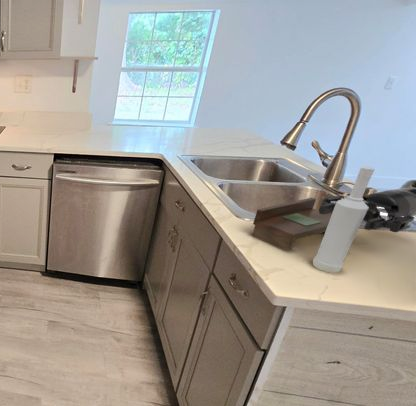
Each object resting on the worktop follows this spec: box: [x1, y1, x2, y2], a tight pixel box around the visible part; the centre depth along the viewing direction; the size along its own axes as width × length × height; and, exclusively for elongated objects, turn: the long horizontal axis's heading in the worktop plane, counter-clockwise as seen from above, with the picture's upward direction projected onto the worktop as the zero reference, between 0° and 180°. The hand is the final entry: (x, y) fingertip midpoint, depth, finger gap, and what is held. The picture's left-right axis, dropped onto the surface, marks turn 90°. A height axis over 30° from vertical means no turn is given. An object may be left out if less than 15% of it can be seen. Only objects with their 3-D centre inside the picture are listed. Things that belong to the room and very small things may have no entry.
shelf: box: [251, 197, 332, 251], centre depth 100 cm, size 10×22×8 cm, turn 109°
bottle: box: [312, 166, 375, 274], centre depth 82 cm, size 5×5×25 cm
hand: (343, 217), depth 82 cm, fingers open, 8 cm apart
